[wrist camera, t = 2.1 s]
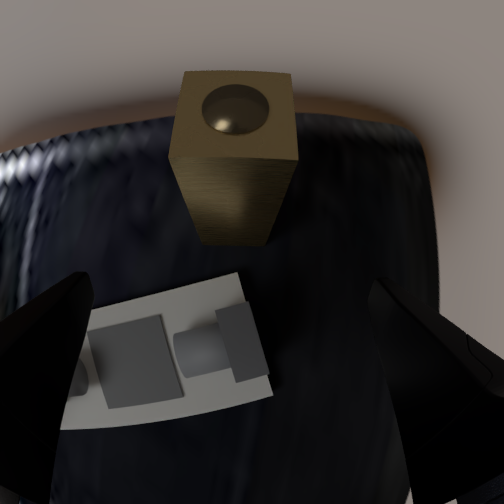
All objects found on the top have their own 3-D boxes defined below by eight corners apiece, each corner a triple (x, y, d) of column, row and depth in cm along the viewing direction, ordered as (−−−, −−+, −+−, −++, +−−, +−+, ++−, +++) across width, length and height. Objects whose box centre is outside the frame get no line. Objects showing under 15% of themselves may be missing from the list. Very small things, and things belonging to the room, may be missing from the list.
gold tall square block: (264, 246, 22) (298, 158, 10) (202, 244, 22) (167, 156, 10) (264, 189, 23) (290, 72, 11) (206, 188, 23) (184, 70, 11)
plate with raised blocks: (237, 274, 22) (237, 262, 17) (271, 392, 20) (280, 408, 16) (35, 325, 20) (3, 323, 15) (63, 426, 18) (35, 441, 14)
